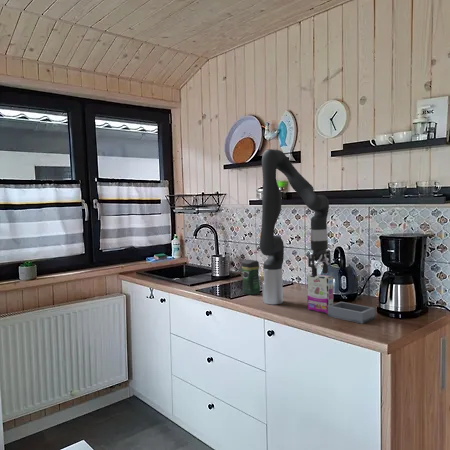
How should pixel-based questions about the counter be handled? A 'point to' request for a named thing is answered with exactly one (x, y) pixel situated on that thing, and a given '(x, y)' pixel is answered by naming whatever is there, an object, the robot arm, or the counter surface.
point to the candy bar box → (319, 292)
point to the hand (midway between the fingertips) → (320, 274)
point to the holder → (351, 312)
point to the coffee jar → (250, 277)
